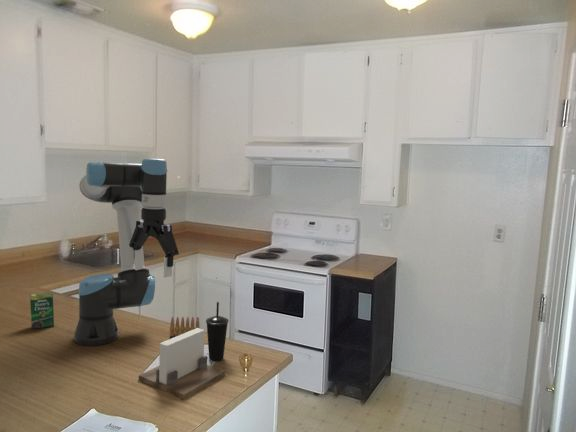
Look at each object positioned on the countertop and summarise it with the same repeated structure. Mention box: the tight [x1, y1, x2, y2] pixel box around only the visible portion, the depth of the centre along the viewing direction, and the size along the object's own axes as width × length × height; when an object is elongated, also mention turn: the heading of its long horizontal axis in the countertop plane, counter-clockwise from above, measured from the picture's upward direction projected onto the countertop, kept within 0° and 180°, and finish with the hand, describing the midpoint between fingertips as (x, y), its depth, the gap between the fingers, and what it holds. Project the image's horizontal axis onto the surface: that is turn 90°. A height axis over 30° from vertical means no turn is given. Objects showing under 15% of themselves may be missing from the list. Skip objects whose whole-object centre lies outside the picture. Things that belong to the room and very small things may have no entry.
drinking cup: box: [205, 301, 229, 362], centre depth 156 cm, size 8×8×20 cm
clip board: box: [138, 355, 226, 400], centre depth 142 cm, size 19×18×5 cm
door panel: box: [158, 328, 205, 385], centre depth 141 cm, size 3×16×12 cm, turn 148°
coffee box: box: [29, 292, 55, 330], centre depth 177 cm, size 8×3×13 cm, turn 116°
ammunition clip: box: [169, 316, 201, 339], centre depth 163 cm, size 11×2×12 cm, turn 97°
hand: (152, 273), depth 147 cm, fingers open, 13 cm apart
